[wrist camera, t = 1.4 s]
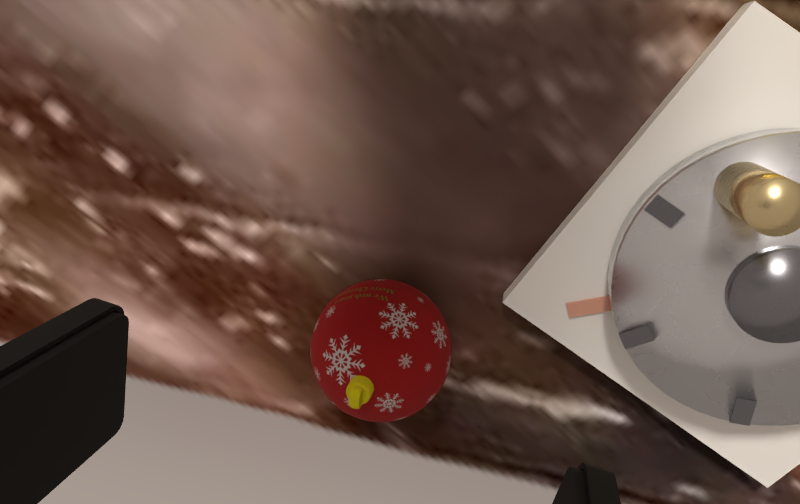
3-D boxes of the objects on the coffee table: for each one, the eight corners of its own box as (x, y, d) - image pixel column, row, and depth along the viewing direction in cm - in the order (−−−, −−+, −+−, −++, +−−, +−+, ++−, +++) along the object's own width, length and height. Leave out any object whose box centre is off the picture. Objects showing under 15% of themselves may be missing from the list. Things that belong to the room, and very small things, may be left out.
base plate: (743, 3, 28) (756, 0, 26) (1068, 232, 28) (1101, 242, 26) (503, 293, 35) (502, 303, 34) (758, 471, 35) (768, 490, 34)
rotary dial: (979, 356, 29) (1096, 433, 23) (664, 434, 34) (692, 514, 28) (896, 68, 26) (1008, 70, 20) (564, 204, 31) (572, 239, 25)
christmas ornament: (467, 270, 35) (444, 344, 26) (451, 384, 38) (426, 486, 29) (340, 250, 37) (276, 313, 28) (334, 361, 40) (275, 451, 31)
